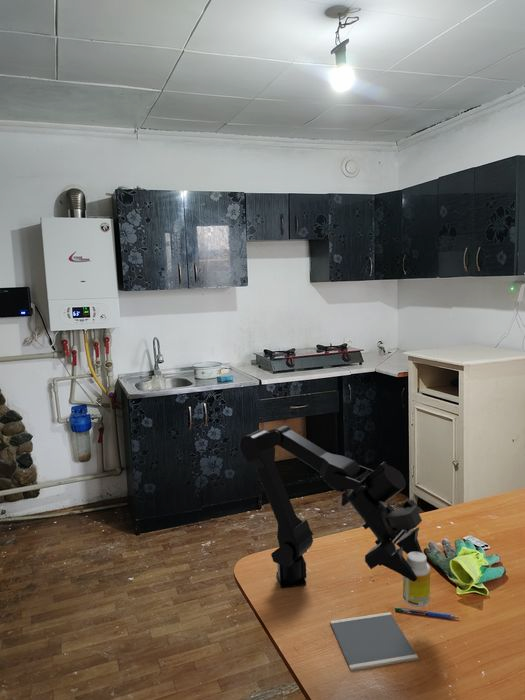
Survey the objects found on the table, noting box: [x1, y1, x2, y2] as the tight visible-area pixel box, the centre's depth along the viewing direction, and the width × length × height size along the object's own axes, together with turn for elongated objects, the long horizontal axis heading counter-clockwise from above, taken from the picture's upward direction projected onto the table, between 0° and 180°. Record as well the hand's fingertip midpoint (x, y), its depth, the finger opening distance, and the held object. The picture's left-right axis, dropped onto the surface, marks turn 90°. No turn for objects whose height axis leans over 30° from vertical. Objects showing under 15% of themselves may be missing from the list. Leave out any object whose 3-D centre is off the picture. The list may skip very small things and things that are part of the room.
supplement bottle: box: [402, 552, 431, 608], centre depth 111 cm, size 6×6×10 cm
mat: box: [329, 611, 419, 672], centre depth 110 cm, size 14×14×1 cm
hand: (420, 573), depth 111 cm, fingers closed on supplement bottle, 5 cm apart
